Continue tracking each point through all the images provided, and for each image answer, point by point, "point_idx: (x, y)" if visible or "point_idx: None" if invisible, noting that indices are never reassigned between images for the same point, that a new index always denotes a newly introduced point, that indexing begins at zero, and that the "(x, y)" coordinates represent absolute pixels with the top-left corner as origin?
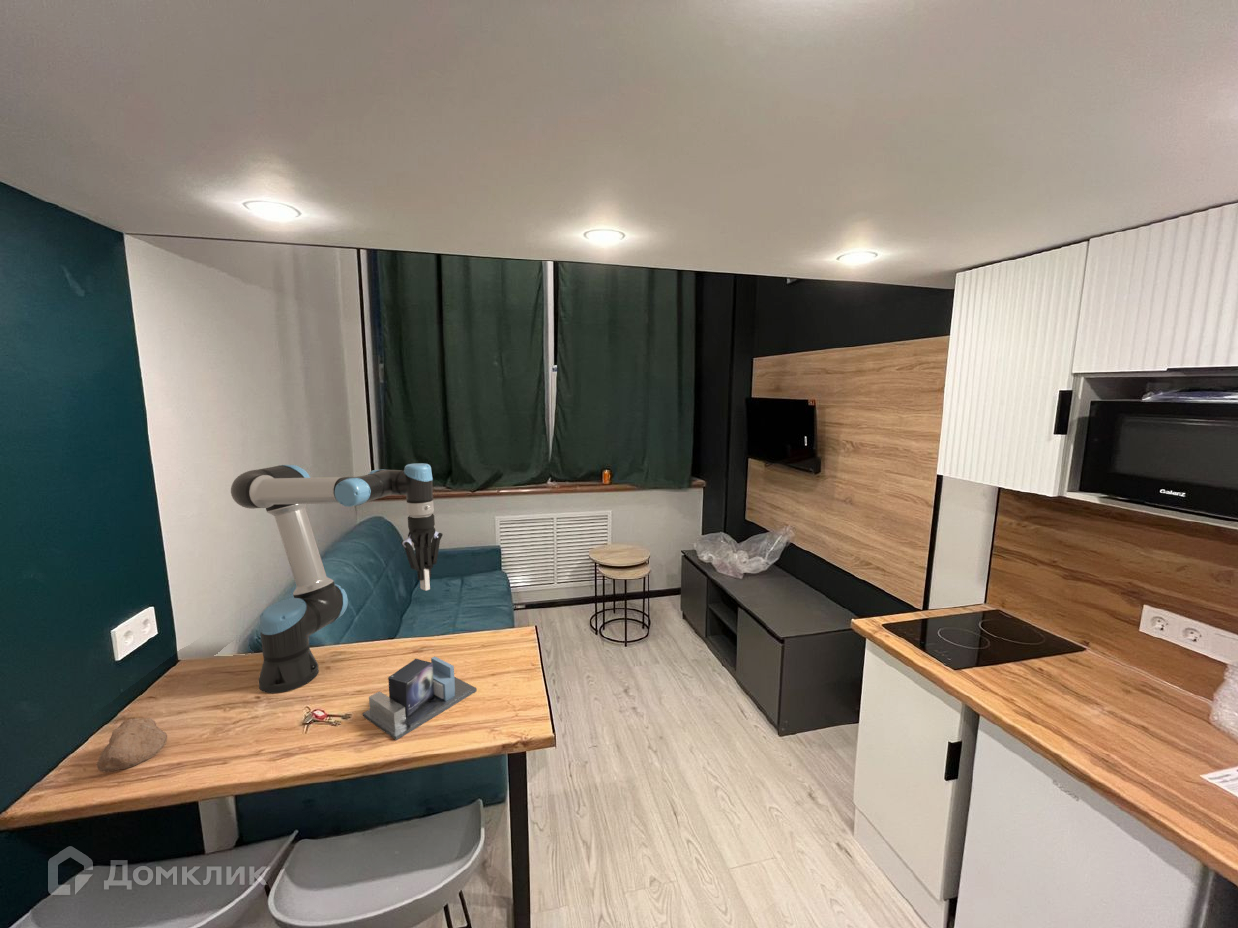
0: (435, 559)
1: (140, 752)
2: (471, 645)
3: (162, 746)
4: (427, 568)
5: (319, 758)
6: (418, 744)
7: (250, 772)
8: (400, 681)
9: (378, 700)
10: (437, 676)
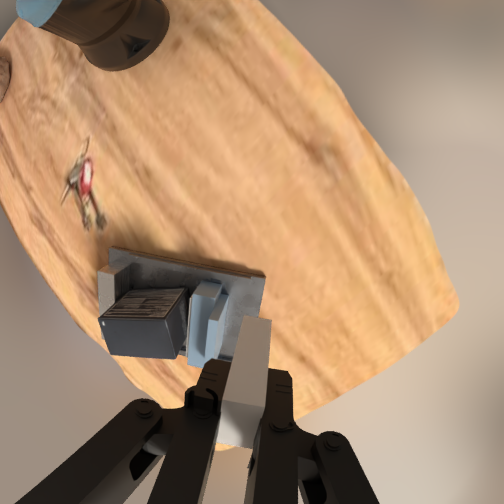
0: (318, 496)
1: None
2: (382, 252)
3: (1, 98)
4: (254, 439)
5: (54, 267)
6: (126, 358)
7: (18, 217)
8: (107, 344)
9: (101, 294)
10: (197, 339)
